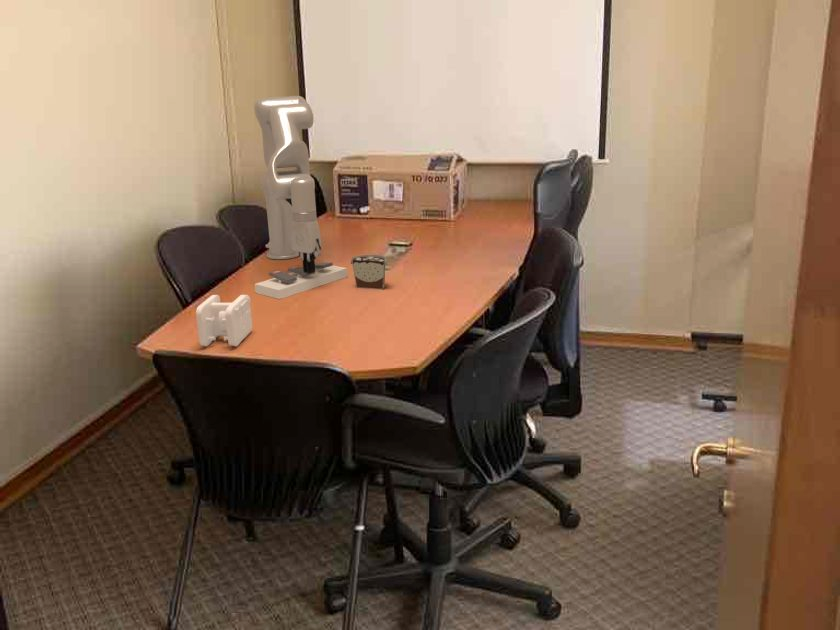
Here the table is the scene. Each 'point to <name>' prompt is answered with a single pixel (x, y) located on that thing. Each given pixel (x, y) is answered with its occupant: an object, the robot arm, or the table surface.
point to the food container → (369, 271)
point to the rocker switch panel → (300, 282)
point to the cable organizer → (224, 320)
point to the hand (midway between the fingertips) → (309, 271)
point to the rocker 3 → (322, 264)
